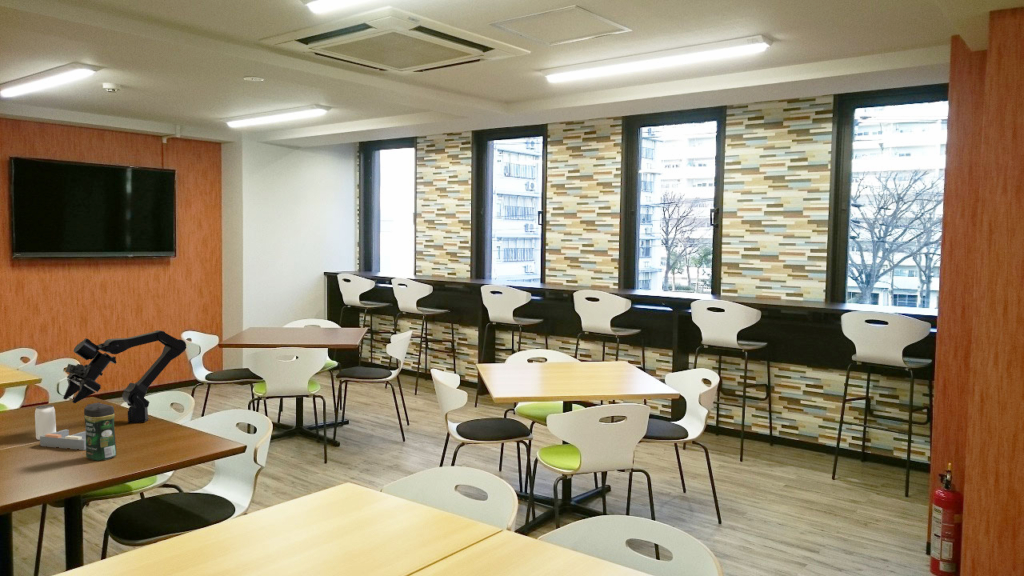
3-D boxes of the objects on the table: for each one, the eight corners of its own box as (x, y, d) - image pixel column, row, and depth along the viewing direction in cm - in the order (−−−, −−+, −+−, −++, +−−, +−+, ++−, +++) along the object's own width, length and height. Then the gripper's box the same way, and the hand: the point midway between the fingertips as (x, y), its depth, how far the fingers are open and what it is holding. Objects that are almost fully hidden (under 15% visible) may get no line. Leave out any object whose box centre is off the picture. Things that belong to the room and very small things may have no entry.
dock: (66, 438, 277) (65, 427, 277) (108, 442, 271) (108, 430, 271) (40, 445, 267) (39, 434, 267) (84, 450, 261) (83, 438, 261)
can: (49, 440, 275) (47, 408, 274) (32, 440, 275) (30, 408, 275) (60, 435, 282) (58, 404, 281) (43, 435, 282) (41, 404, 281)
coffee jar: (82, 458, 251) (79, 404, 250) (106, 452, 258) (103, 399, 256) (96, 462, 246) (93, 407, 244) (120, 457, 252) (117, 403, 251)
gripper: (69, 352, 292) (41, 386, 285) (88, 358, 280) (59, 393, 273) (93, 368, 299) (66, 401, 292) (112, 374, 287) (85, 408, 280)
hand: (68, 400), depth 284 cm, fingers open, 9 cm apart
